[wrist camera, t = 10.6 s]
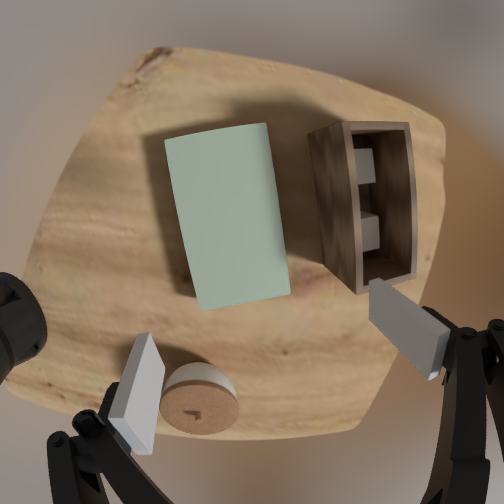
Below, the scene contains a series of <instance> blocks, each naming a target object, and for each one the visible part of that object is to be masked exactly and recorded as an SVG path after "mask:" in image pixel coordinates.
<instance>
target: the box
mask: <svg viewBox="0 0 504 504" xmlns="http://www.w3.org/2000/svg"><path fill="white" fill-rule="evenodd" d="M308 139H309V145H310V152H311V159H312V166H313V173H314V180H315V188H316V196H317V205H318V214H319V223H320V233H321V244H322V255H323V265H324V266H325V267H326V268H327V269H328V270H330V271H331V272H332V273H333V274H334V275H335V276H336V277H337V278H338V279H339V280H341V281H342V282H343V283H344V284H345V285H346V286H347V287H348V288H349V289H350V290H351V291H352V292H353V293H355V294H356V295H359V294H363V293H367V292H369V281H370V280H373V279H376V278H381V279H382V280H383V281H385V282H386V283H388V284H389V285H395V284H398V283H401V282H405V281H408V280H411V279H415V278H416V269H417V237H418V225H417V194H416V179H415V167H414V157H413V149H412V141H411V134H410V127H409V122H387V121H349V122H339V123H336V124H334V125H331V126H328V127H325V128H323V129H320V130H317V131H315V132H312V133H310V134H308ZM368 148H372V153H373V161H374V169H375V179H376V182H375V183H365V184H358V180H357V172H356V163H355V156H354V149H368ZM360 211H364V212H367V213H371V214H374V215H377V216H378V218H379V245H380V248H378V249H373V250H369V251H364V252H363V250H362V229H361V214H360Z"/></svg>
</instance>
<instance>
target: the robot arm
mask: <svg viewBox="0 0 504 504" xmlns="http://www.w3.org/2000/svg"><path fill="white" fill-rule="evenodd" d="M369 320H370V321H371V322H372V323H373V324H374V325H375V326H376V327H377V328H378V329H379V330H380V331H381V332H382V333H383V334H384V335H385V336H386V337H387V338H388V339H389V340H390V341H391V342H392V343H393V344H394V345H395V346H396V347H397V348H398V349H399V350H400V351H401V352H402V354H403V355H404V356H405V357H406V358H407V359H408V360H409V361H410V362H411V363H412V364H413V365H414V366H415V367H416V368H417V369H418V370H419V371H420V372H421V373H422V374H423V376H424V377H425V378H426V379H427V380H428V381H429V380H431V379H432V378H434V377H436V376H438V375H439V374H440V371H441V368H442V366H444V367H445V368H446V373H445V376H444V380H443V382H442V385H444V396H443V407H442V416H441V424H440V431H439V437H438V443H437V448H436V453H435V458H434V463H433V468H432V472H431V476H430V480H429V484H428V487H427V490H426V492H425V494H424V496H423V499H422V501H421V503H420V504H485V501H486V495H487V489H488V483H489V475H490V461H489V460H488V459H486V458H485V449H486V395H487V398H488V401H489V405H490V408H491V411H492V414H493V418H494V422H495V425H496V429H497V433H498V437H499V442H500V446H501V451H502V456H503V461H504V321H503V320H501V319H493V320H491V321H490V322H489V324H488V328H487V330H483V331H479V332H477V331H476V330H475V329H473V328H470V327H463V328H458V327H457V326H456V325H454V324H453V323H452V322H450V321H449V320H448V319H446V318H445V317H443V316H442V315H441V314H439V313H438V312H436V311H435V310H434V309H432V308H429V307H426V306H423V307H420V306H418V305H417V304H416V303H414V302H413V301H412V300H410V299H409V298H407V297H406V296H405V295H403V294H402V293H400V292H399V291H398V290H396V289H395V288H393V287H392V286H391V285H389V284H388V283H386V282H385V281H383V280H382V279H381V278H376V279H373V280H370V281H369ZM46 340H47V326H46V321H45V317H44V315H43V312H42V310H41V307H40V305H39V303H38V301H37V300H36V298H35V297H34V295H33V294H32V292H31V291H30V290H29V288H28V287H27V286H26V285H25V284H24V283H23V282H22V281H21V280H19V279H18V278H17V277H15V276H13V275H11V274H8V273H5V272H0V385H1V383H2V382H3V380H4V379H5V378H6V376H7V375H8V374H9V372H10V371H11V370H12V368H13V367H15V366H17V365H19V364H21V363H23V362H25V361H27V360H29V359H31V358H33V357H35V356H36V355H37V354H38V353H39V352H40V351H41V350H42V348H43V347H44V345H45V343H46ZM164 374H165V366H164V364H163V362H162V360H161V357H160V355H159V353H158V350H157V348H156V346H155V343H154V341H153V339H152V336H151V334H150V332H146V333H140V334H138V335H137V337H136V340H135V342H134V345H133V348H132V350H131V353H130V355H129V358H128V361H127V363H126V366H125V369H124V372H123V374H122V377H121V380H120V382H113V383H112V384H111V385H110V386H109V388H108V389H107V391H106V394H105V396H104V397H105V398H104V399H103V401H102V403H103V404H101V407H100V410H99V412H98V414H97V413H96V412H95V411H94V410H90V409H88V410H83V411H80V412H79V413H78V414H76V415H75V417H74V418H73V421H72V426H73V428H74V429H75V430H76V431H77V432H78V434H79V435H78V436H74V437H69V436H68V435H67V434H66V433H65V432H63V431H57V432H55V433H53V434H52V435H51V436H49V438H48V440H47V457H48V468H49V478H50V486H51V492H52V499H53V504H109V501H108V498H107V495H106V492H105V489H104V486H103V483H102V480H101V477H100V473H103V475H104V476H105V478H106V479H107V481H108V482H109V484H110V485H111V487H112V488H113V490H114V491H115V493H116V494H117V495H118V497H119V498H120V499H121V501H122V502H123V503H124V504H174V503H173V502H172V501H171V500H170V499H169V498H168V497H167V496H166V495H165V494H164V493H163V492H162V491H161V490H160V489H159V488H158V487H157V486H156V485H155V483H154V482H153V481H152V480H151V479H150V478H149V477H148V476H147V474H146V473H145V472H144V471H143V470H142V469H141V467H140V466H139V465H138V464H137V463H136V461H135V460H134V459H133V458H132V457H131V455H130V452H131V448H132V450H133V451H134V452H135V453H136V454H137V455H152V449H153V442H154V435H155V428H156V421H157V415H158V408H159V402H160V396H161V390H162V385H163V379H164Z"/></svg>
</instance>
